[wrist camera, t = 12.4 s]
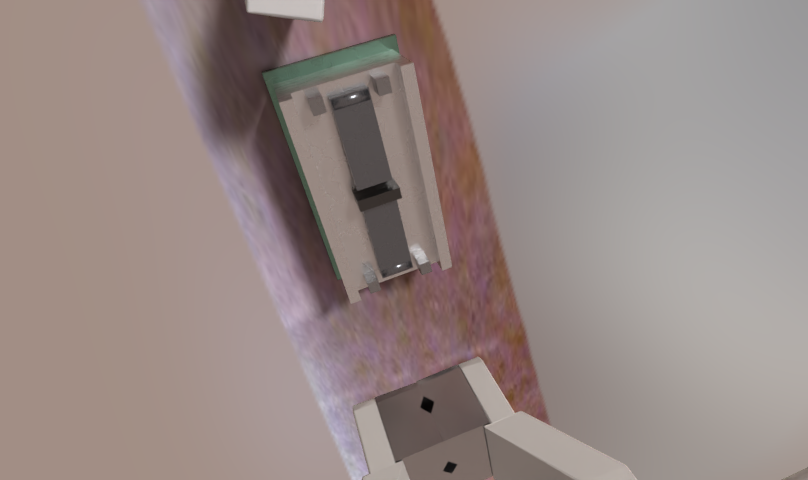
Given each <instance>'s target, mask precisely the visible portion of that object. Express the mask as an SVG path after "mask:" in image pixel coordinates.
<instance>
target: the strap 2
mask: <svg viewBox="0 0 808 480" xmlns="http://www.w3.org/2000/svg"><path fill="white" fill-rule="evenodd" d="M362 213H363V216H364V219H365V223H366V226H367V230H368V233H369V236H370V240H371V243H372V246H373V250H374V253H375V257H376V260H377V263H378V267H379V270H380V273H381V276H382V278H386V277H389V276H391V275H394V274H397V273H400V272H402V271H405V270H408V269H411V268H413V265H412V261H411V256H410V252H409V248H408V244H407V240H406V236H405V232H404V227H403V223H402V219H401V215H400V211H399V207H398V203H397V200H395V201H392V202H389V203H386V204H383V205H380V206H377V207H374V208H371V209H369V210H366V211H363V212H362Z"/></svg>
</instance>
